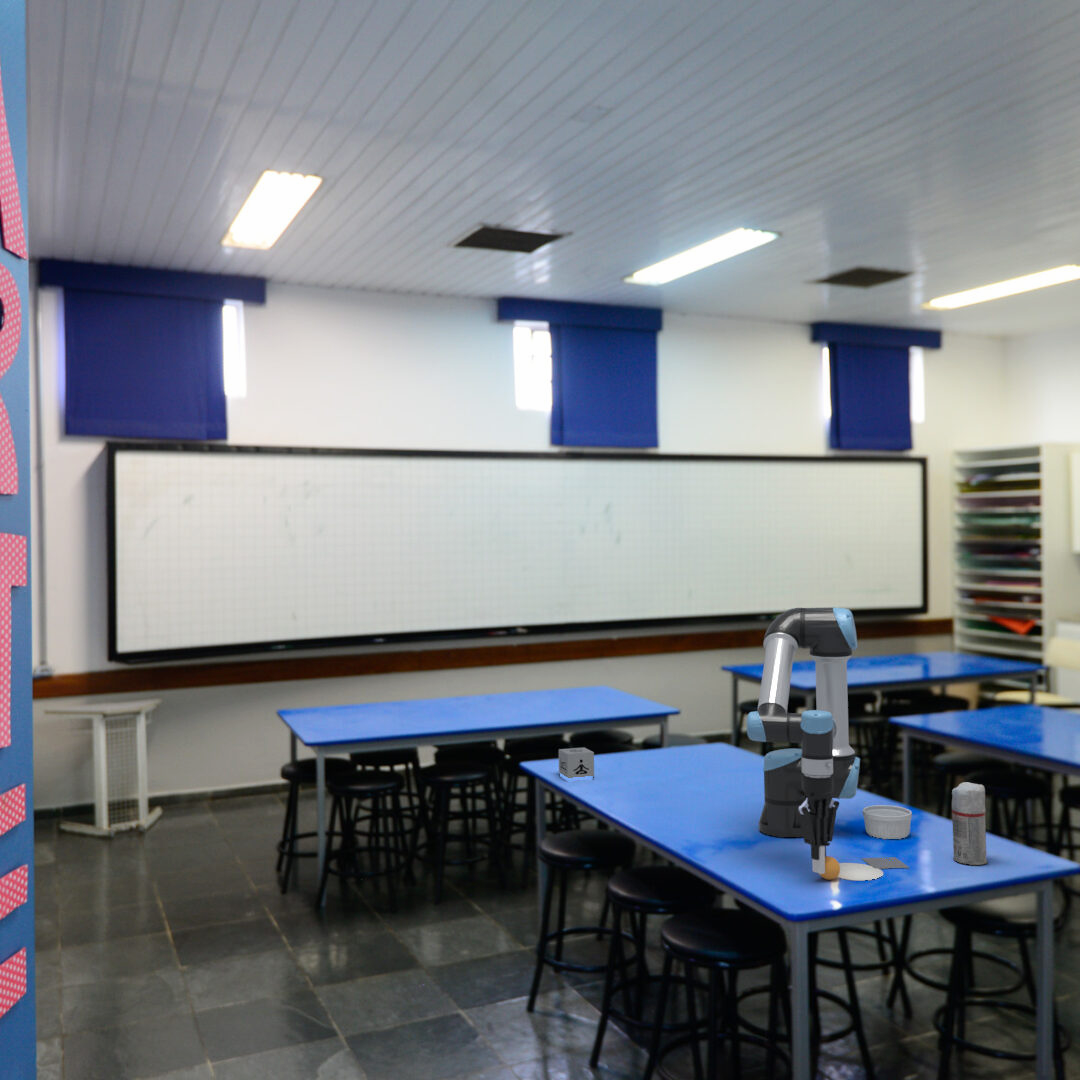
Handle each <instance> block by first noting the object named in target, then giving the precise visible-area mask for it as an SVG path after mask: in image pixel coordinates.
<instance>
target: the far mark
mask: <svg viewBox="0 0 1080 1080" xmlns="http://www.w3.org/2000/svg"><path fill="white" fill-rule="evenodd" d="M885 858H886V859H885ZM887 858H889V859H887ZM882 859H883V860H882ZM861 860H862V861H863V860H864V861H863V862H865V863H866V865H868V864H869V865H870V866H872V867H876V868H878V869H880V870H890V869H889V868H904V869H910V867H909V866H908V865H907V864H905V863H904V862H903V861H901V860H900V859H898V858H897V857H896V856H894V857H893V856H891V857H862V858H861ZM889 860H890V861H889ZM892 860H893V861H892ZM874 869H875V868H874Z"/></svg>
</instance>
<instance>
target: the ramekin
mask: <svg viewBox="0 0 1080 1080" xmlns="http://www.w3.org/2000/svg"><path fill="white" fill-rule="evenodd" d="M912 813H913V812H912V810H910V809H908V808H906V807H902V806H897V805H890V804H889V805H888V804H887V805H886V804H883V805H882V804H877V805H876V804H875V805H869V806H866V807H863V809H862V815H863V820H864V827H865V832H866V833H867V834H868V835H869V836H870V837H872V836H873V838H875V837H876V839H879V838H882V839H881V840H886V839H899V840H902V839H901V838H904V839H906V838H907V837H908V836H909V835H910V831H911V822H912V821H911V820H912V818H913V815H912ZM905 837H906V838H905Z"/></svg>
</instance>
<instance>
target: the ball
mask: <svg viewBox="0 0 1080 1080" xmlns="http://www.w3.org/2000/svg"><path fill="white" fill-rule="evenodd" d="M839 863H840V862H838V860H837V859H836V858H834V857H833V856H830V855H826V858H825V873H824V874H819V873H818V874H819V876H820V877H821V878H823V879H824V880H828V881H829V880H832V881H833V880H835V879H836V878H837V876H838V875H839V873H840V865H839Z"/></svg>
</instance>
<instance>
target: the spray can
mask: <svg viewBox="0 0 1080 1080" xmlns="http://www.w3.org/2000/svg"><path fill="white" fill-rule="evenodd" d="M951 791H952V792H951V795H952V796H951V797H952V799H951V816H952V817H951V818H952V822H951V823H952V845H953V847H952V848H953V852H952V853H953V860H954V861H955V862H956V861H957V863H958V862H959V864H962V863H963V864H962V865H966V864H969V865H968V866H981V865H985V864H988V860H987V837H986V836H987V835H986V830H987V829H986V811H987V810H986V789H985V786H984V785H983V784H978V783H972V782H968V781H967V782H965V781H964V782H961V783H959V785H958V786H956V787H954V788H953V789H952V790H951Z"/></svg>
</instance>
